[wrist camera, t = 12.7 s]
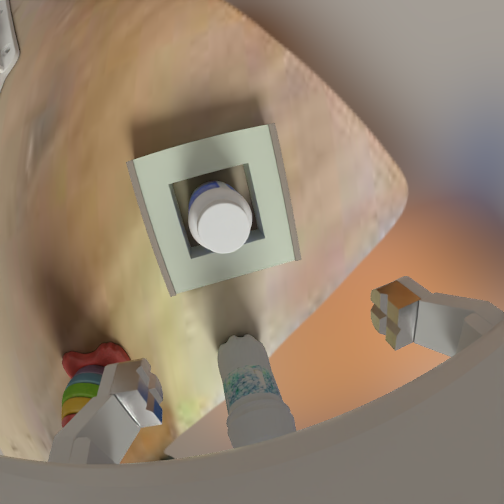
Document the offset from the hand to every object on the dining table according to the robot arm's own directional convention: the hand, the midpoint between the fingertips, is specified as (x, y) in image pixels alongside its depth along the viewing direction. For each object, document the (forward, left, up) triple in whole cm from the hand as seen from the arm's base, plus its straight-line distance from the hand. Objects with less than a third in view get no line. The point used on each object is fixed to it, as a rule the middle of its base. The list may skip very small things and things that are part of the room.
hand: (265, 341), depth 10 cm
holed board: (0, 0, -23) cm, 23 cm away
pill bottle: (0, 0, -23) cm, 23 cm away
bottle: (+19, -2, -23) cm, 30 cm away
